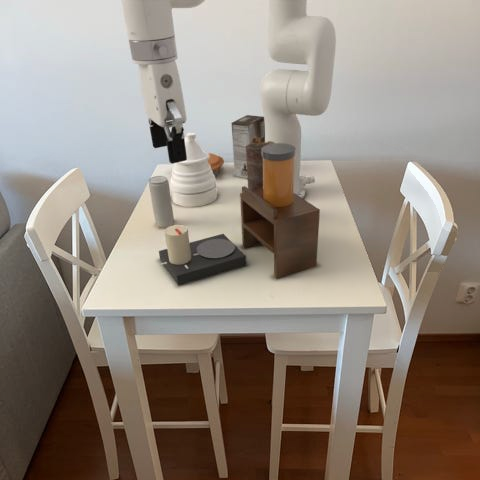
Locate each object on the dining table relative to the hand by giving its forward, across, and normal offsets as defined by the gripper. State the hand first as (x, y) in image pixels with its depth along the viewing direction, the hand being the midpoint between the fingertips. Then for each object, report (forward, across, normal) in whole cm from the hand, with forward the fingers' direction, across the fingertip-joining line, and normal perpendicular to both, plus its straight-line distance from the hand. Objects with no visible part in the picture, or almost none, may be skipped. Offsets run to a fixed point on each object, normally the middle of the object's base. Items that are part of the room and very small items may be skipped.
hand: (169, 153), depth 88 cm
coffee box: (+26, +43, -38) cm, 63 cm away
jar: (+12, -6, -20) cm, 24 cm away
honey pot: (+26, +35, -16) cm, 46 cm away
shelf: (+25, -6, -20) cm, 33 cm away
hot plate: (+25, 0, -4) cm, 25 cm away
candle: (+26, +10, -25) cm, 37 cm away
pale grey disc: (+23, 0, -7) cm, 24 cm away
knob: (+22, 0, +1) cm, 23 cm away
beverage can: (+26, +23, -3) cm, 34 cm away
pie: (+26, +51, -24) cm, 62 cm away
